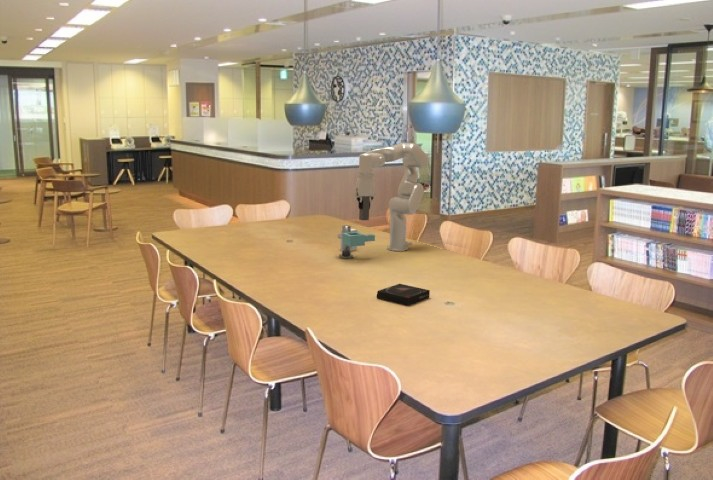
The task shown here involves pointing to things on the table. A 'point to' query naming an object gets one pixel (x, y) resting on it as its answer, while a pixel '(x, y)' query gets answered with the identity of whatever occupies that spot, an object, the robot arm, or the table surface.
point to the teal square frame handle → (356, 239)
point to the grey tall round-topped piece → (345, 248)
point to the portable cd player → (403, 294)
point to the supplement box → (351, 247)
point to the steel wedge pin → (364, 209)
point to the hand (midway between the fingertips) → (364, 208)
